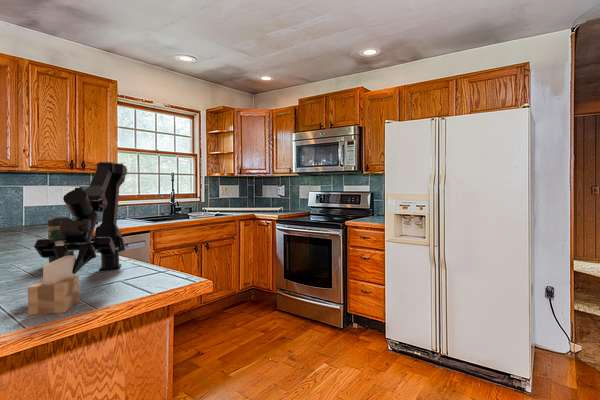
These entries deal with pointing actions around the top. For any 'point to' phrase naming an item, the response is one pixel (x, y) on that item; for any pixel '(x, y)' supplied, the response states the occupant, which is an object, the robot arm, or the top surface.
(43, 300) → the oak box
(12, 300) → the top surface
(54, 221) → the coffee jar
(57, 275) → the cover plate
